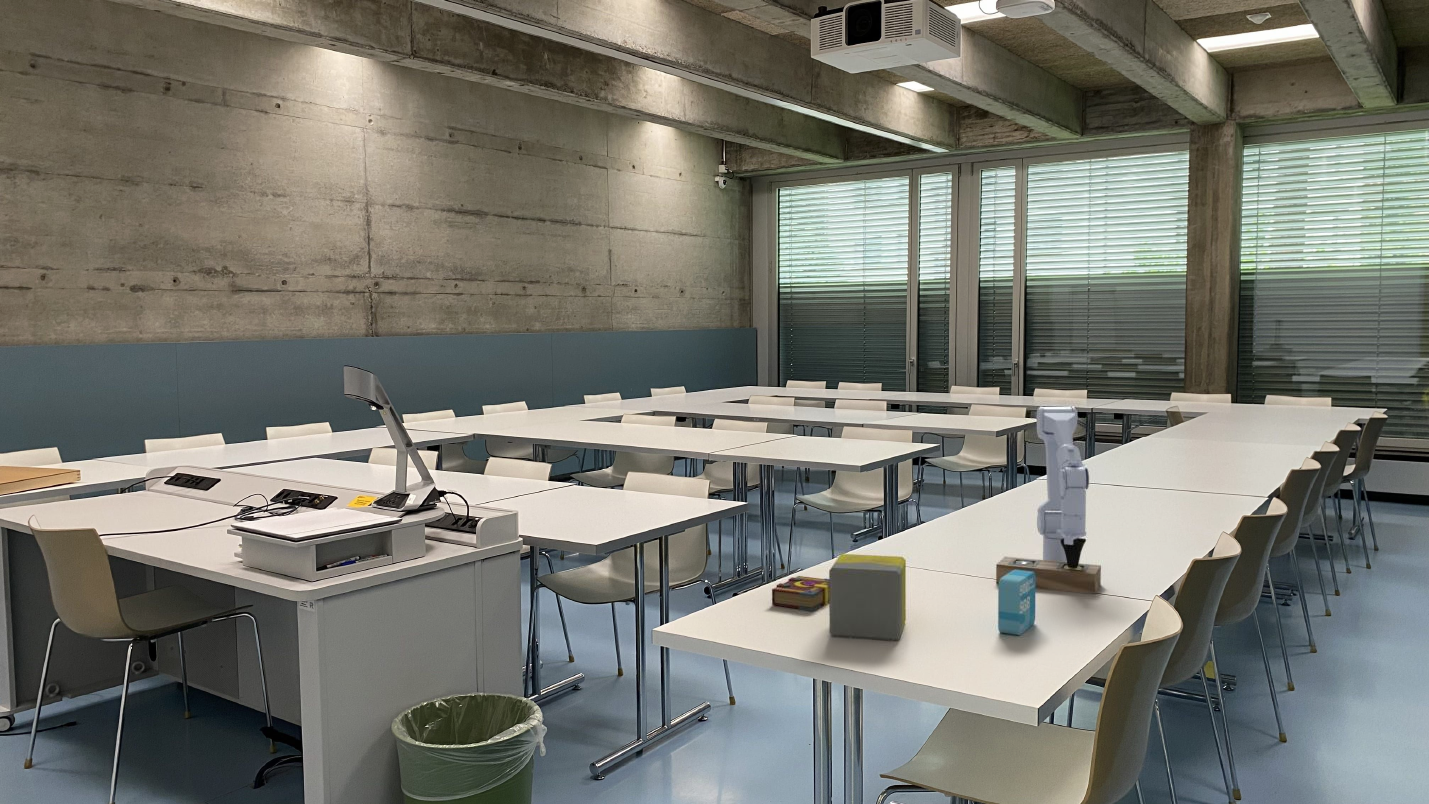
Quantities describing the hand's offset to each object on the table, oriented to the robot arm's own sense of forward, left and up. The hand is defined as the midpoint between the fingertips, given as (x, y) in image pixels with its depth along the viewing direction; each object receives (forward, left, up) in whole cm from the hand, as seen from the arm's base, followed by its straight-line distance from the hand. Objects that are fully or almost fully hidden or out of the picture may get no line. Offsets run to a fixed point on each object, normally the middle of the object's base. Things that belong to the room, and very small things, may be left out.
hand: (1072, 567), depth 255 cm
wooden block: (0, -6, -5) cm, 8 cm away
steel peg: (0, -12, -5) cm, 13 cm away
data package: (+42, -5, -5) cm, 43 cm away
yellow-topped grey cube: (+52, -35, -5) cm, 63 cm away
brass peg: (0, 0, -5) cm, 5 cm away
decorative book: (+41, -56, -6) cm, 69 cm away
